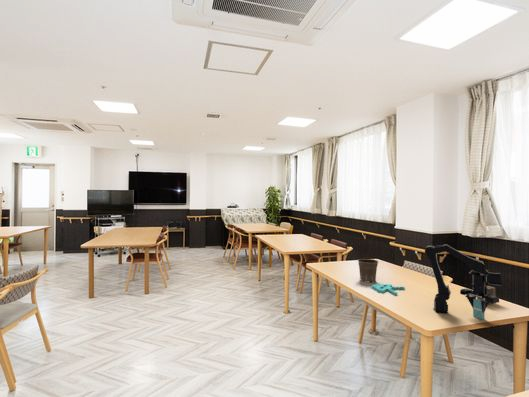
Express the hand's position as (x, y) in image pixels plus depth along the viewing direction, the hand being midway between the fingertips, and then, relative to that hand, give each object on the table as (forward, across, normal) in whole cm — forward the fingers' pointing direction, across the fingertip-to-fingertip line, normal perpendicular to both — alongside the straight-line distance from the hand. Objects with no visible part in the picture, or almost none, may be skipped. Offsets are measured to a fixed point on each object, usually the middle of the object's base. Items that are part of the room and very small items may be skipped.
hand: (478, 310), depth 178 cm
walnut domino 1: (+4, +15, -26) cm, 30 cm away
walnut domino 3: (+4, +15, -34) cm, 37 cm away
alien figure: (+5, +62, +9) cm, 63 cm away
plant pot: (+4, +89, +4) cm, 89 cm away
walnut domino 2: (+4, +15, -30) cm, 34 cm away
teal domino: (+4, 0, 0) cm, 4 cm away
